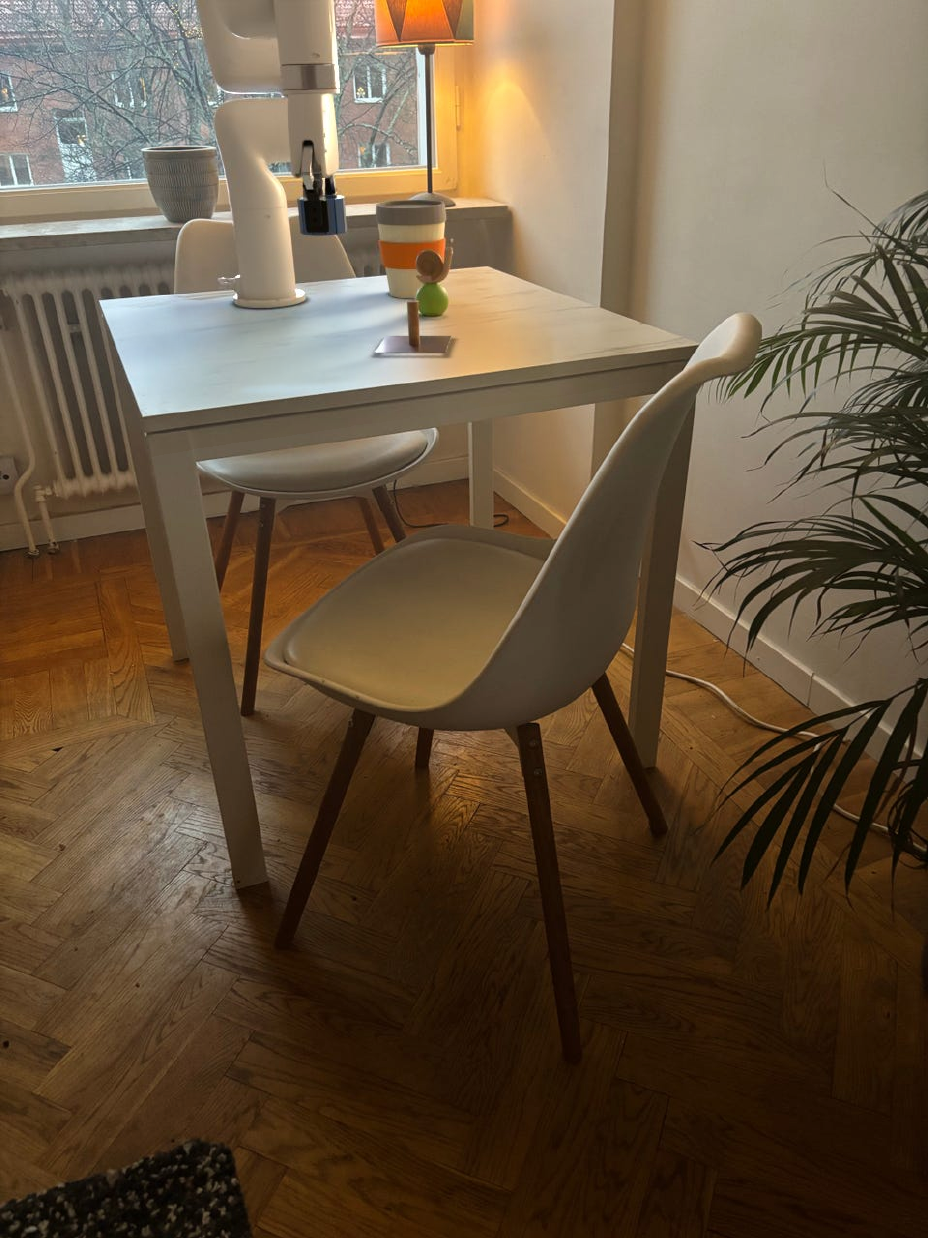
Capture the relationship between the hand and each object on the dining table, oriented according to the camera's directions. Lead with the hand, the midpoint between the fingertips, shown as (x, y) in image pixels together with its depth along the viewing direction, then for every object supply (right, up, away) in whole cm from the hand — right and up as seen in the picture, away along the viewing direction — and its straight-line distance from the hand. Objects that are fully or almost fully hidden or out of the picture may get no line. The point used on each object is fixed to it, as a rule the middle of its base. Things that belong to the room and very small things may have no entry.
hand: (323, 227), depth 131 cm
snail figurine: (+15, -6, +22) cm, 27 cm away
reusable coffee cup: (+11, +4, +40) cm, 41 cm away
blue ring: (0, -1, 0) cm, 1 cm away
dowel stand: (+13, -16, +5) cm, 20 cm away
